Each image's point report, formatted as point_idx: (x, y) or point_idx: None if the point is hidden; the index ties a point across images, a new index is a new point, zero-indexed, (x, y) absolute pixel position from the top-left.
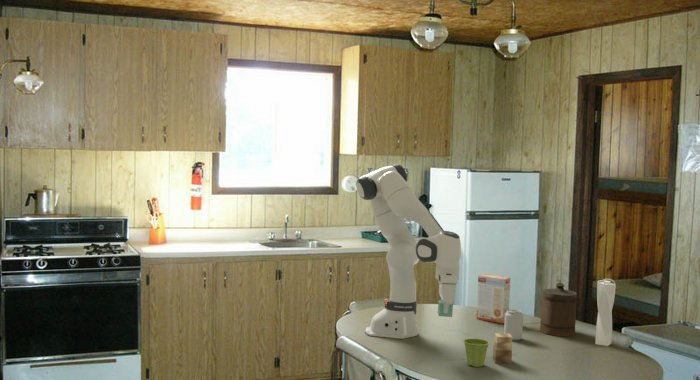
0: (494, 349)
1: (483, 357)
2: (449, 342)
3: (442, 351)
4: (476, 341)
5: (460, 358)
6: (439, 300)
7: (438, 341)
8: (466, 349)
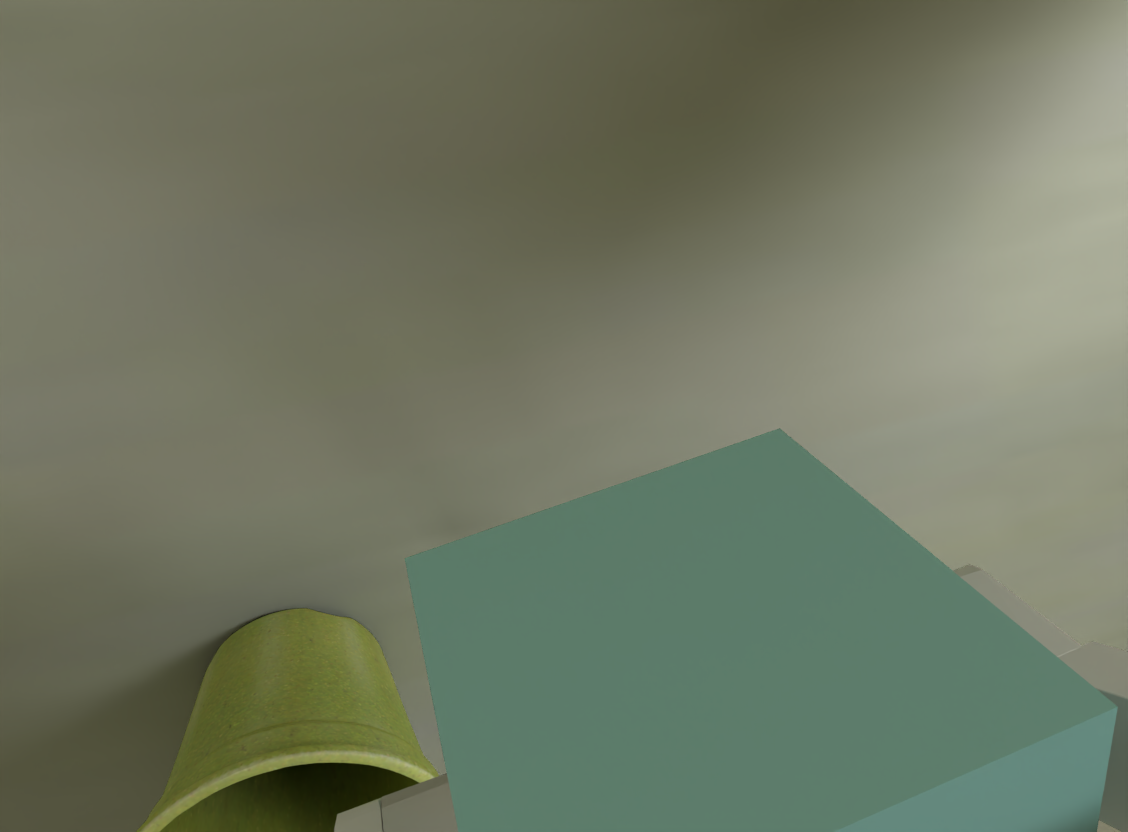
0: None
1: (248, 830)
2: (1013, 261)
3: (663, 262)
4: None
5: (461, 499)
6: (1052, 762)
7: (1037, 138)
8: (218, 732)
